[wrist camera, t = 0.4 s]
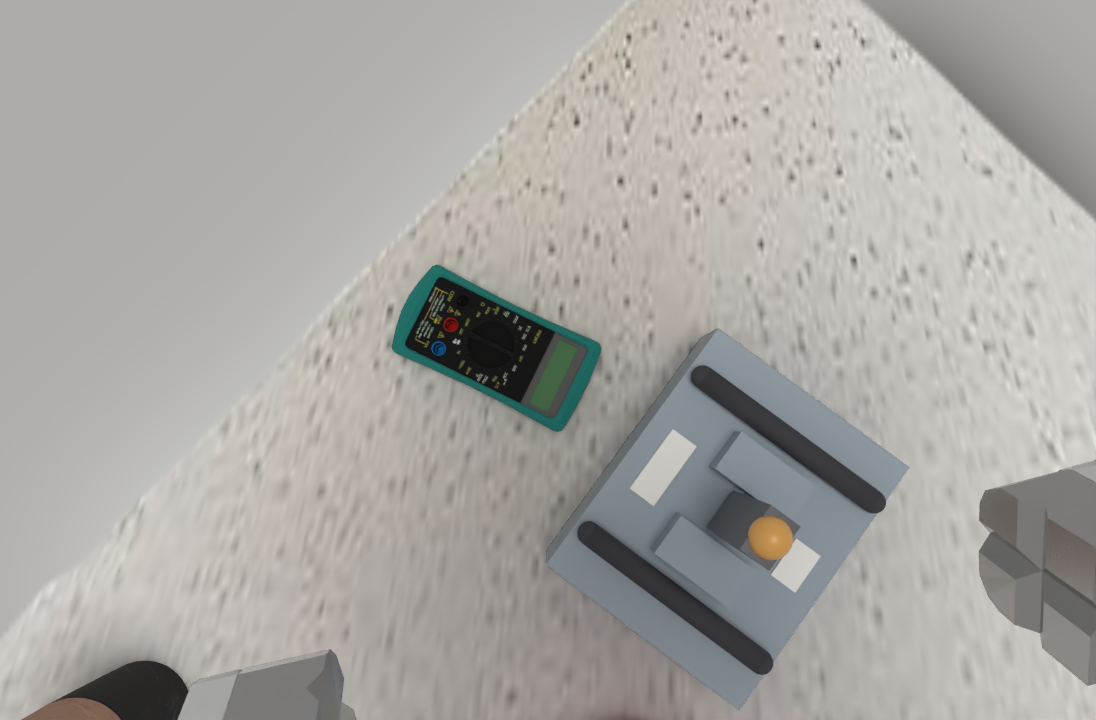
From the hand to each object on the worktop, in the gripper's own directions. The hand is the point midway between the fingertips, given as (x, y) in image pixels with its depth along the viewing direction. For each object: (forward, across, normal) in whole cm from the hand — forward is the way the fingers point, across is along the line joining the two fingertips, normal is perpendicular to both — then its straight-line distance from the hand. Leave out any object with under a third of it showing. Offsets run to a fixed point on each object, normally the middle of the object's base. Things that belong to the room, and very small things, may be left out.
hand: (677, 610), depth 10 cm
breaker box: (+43, +14, -25) cm, 51 cm away
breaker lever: (+36, +13, -22) cm, 45 cm away
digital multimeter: (+50, +1, -12) cm, 52 cm away
